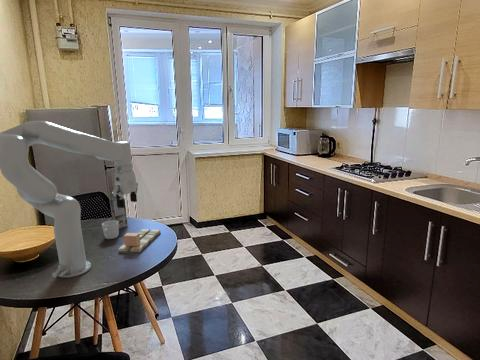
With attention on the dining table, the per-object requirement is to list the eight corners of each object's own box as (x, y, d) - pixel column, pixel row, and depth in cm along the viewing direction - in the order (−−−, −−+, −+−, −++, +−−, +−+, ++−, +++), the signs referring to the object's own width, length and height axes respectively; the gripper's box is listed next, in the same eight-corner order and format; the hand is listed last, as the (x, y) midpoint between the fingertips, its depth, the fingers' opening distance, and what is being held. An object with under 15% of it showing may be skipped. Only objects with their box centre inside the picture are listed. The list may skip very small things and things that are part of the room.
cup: (114, 242, 155) (112, 227, 153) (98, 243, 155) (96, 227, 153) (122, 234, 165) (120, 219, 163) (107, 234, 165) (105, 220, 163)
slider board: (139, 253, 142) (138, 249, 141) (118, 252, 143) (118, 248, 143) (160, 233, 165) (160, 229, 164) (142, 232, 166) (142, 228, 166)
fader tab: (137, 248, 144) (135, 236, 143) (125, 248, 145) (123, 235, 144) (140, 245, 147) (139, 233, 146) (128, 244, 148) (127, 232, 147)
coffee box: (128, 226, 176) (125, 198, 172) (116, 229, 173) (112, 201, 169) (124, 221, 183) (120, 195, 180) (112, 224, 180) (109, 197, 176)
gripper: (118, 172, 134) (122, 210, 138) (141, 165, 150) (145, 200, 154) (103, 172, 136) (108, 209, 140) (128, 165, 152) (132, 199, 156)
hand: (127, 204), depth 147 cm, fingers open, 9 cm apart
